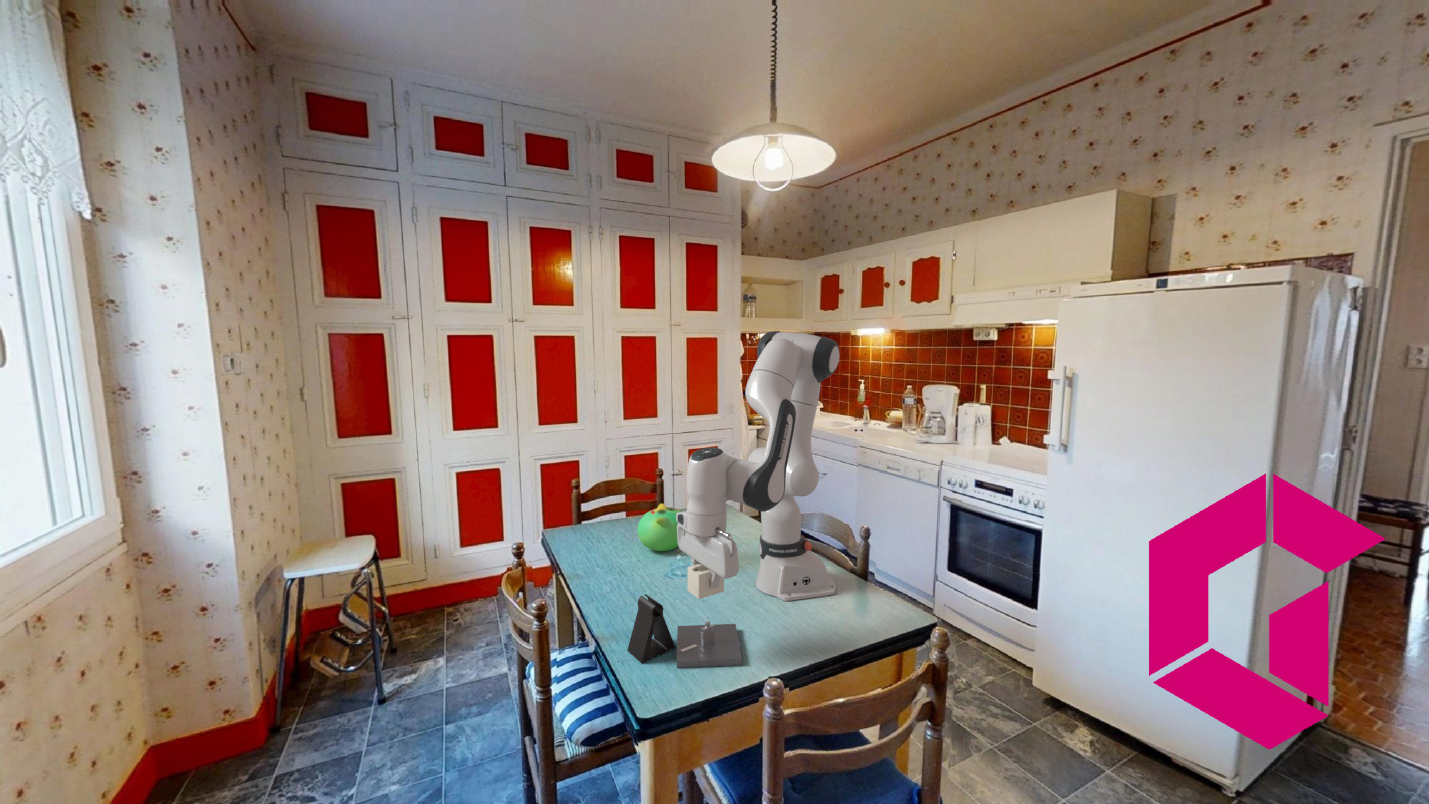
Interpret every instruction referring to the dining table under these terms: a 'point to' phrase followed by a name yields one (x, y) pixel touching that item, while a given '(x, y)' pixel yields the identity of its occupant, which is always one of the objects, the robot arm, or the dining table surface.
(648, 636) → the black a-frame stand
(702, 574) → the hollow rectangular block
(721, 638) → the grey square base
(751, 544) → the dining table surface
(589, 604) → the dining table surface
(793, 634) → the dining table surface
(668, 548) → the green bird toy
